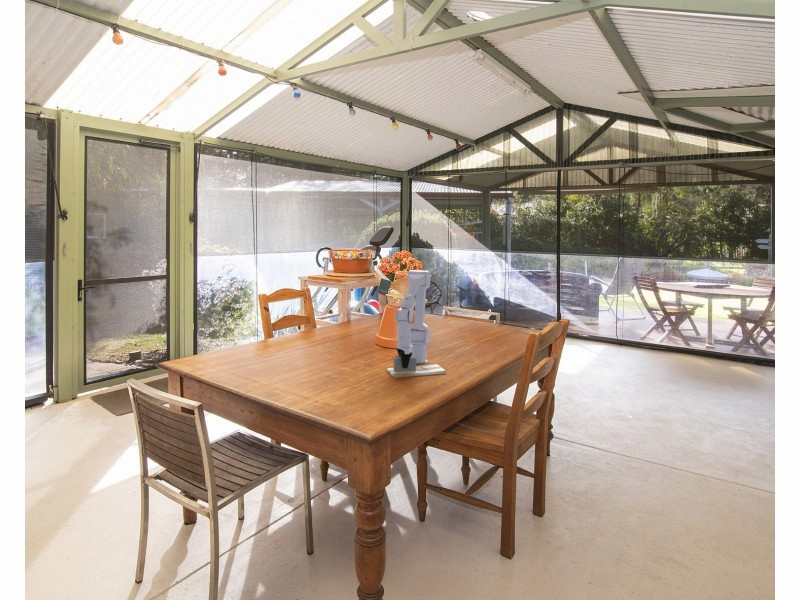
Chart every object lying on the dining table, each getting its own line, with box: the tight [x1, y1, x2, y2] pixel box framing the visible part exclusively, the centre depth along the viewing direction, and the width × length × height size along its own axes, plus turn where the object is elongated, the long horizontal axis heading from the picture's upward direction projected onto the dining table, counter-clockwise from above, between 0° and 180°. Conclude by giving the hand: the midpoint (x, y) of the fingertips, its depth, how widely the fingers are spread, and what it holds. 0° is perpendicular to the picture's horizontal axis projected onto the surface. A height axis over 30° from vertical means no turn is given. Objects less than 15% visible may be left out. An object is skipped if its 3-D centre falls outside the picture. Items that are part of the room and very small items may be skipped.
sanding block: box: [393, 355, 417, 372], centre depth 216 cm, size 5×9×6 cm, turn 100°
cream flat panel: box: [386, 363, 447, 379], centre depth 219 cm, size 11×24×1 cm, turn 107°
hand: (404, 366), depth 217 cm, fingers closed on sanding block, 5 cm apart
